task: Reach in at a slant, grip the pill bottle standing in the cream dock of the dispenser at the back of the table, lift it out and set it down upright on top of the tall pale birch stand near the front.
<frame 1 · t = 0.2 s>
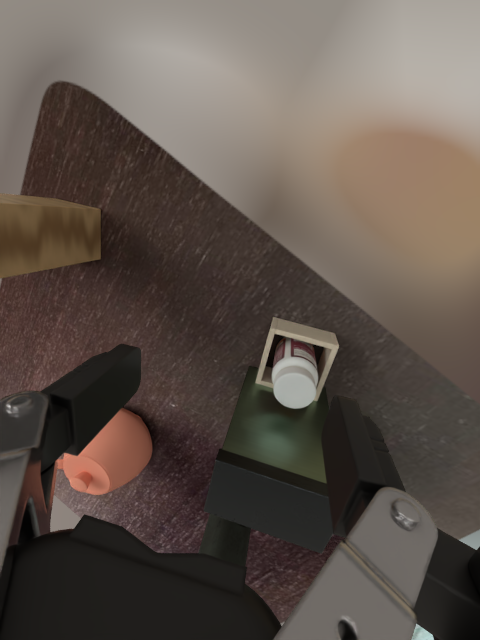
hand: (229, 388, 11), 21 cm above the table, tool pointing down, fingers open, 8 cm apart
sugar bowl: (120, 427, 44), on the table
pill bottle: (294, 350, 33), resting in dock
dispenser: (280, 394, 35), on the table
dock: (294, 351, 33), on the table
candle: (237, 484, 43), on the table
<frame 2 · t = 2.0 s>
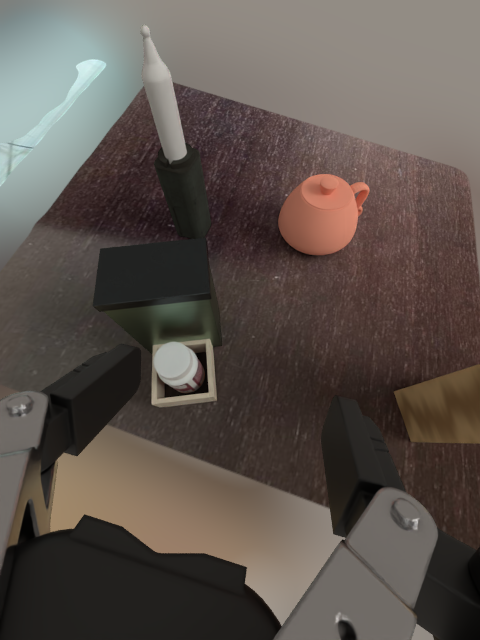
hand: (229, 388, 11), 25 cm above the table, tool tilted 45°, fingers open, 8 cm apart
sugar bowl: (317, 233, 46), on the table
pill bottle: (188, 376, 36), resting in dock
dispenser: (186, 330, 39), on the table
dock: (187, 375, 36), on the table
candle: (194, 228, 47), on the table
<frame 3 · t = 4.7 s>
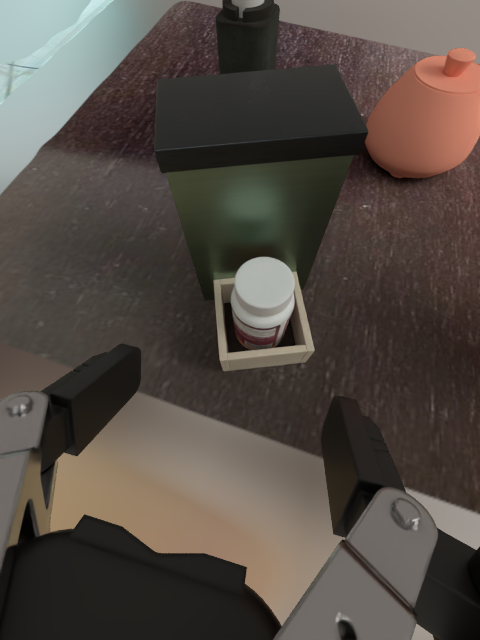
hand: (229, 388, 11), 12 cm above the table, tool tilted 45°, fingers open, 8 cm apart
sugar bowl: (409, 157, 35), on the table
pill bottle: (258, 329, 25), resting in dock
dispenser: (250, 270, 28), on the table
dock: (259, 328, 25), on the table
candle: (247, 152, 36), on the table
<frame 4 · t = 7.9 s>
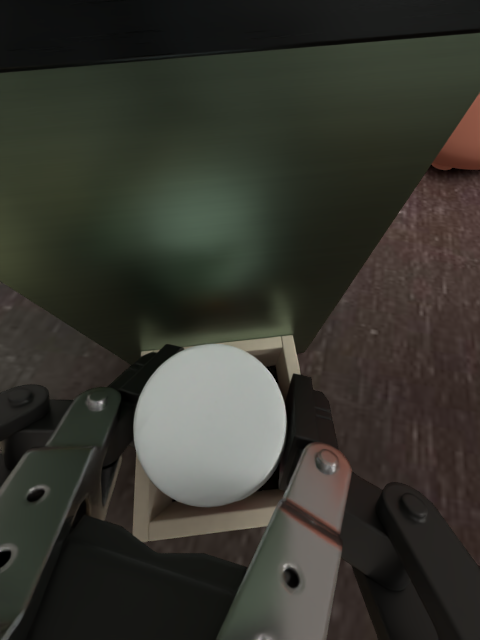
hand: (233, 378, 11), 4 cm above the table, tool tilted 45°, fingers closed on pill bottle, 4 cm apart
sugar bowl: (456, 140, 24), on the table
pill bottle: (228, 427, 15), resting in dock, touching gripper
dispenser: (219, 317, 17), on the table
dock: (228, 427, 14), on the table
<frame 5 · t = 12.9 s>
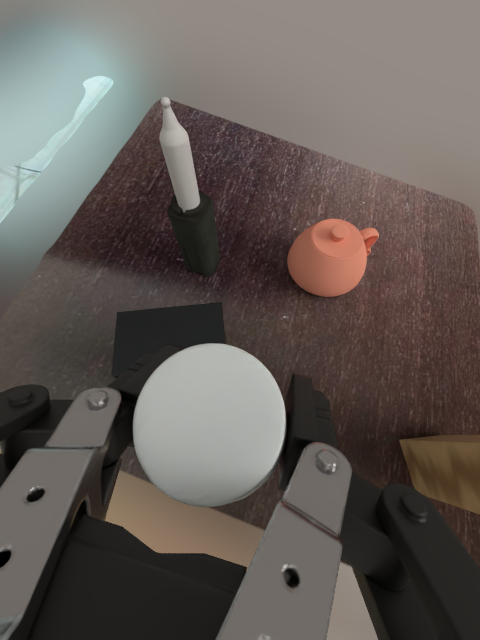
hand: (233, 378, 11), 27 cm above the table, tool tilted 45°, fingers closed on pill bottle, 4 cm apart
sugar bowl: (325, 271, 46), on the table
pill bottle: (228, 427, 15), point 23 cm above the table, touching gripper
dispenser: (195, 371, 39), on the table
candle: (203, 263, 47), on the table
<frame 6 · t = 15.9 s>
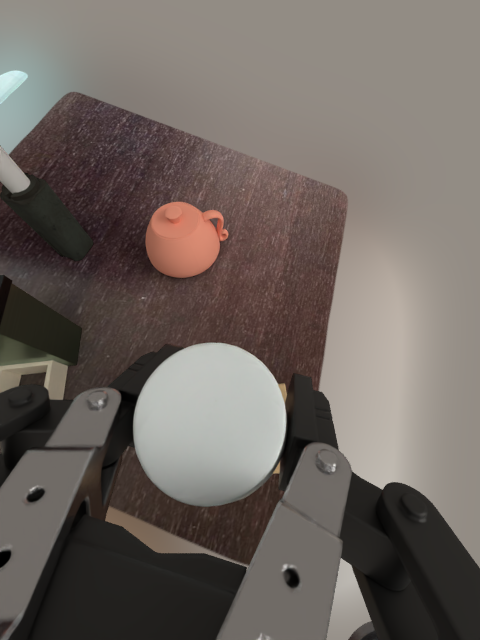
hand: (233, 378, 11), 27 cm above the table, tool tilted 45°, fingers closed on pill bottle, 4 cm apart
sugar bowl: (191, 254, 48), on the table
pill bottle: (228, 427, 15), point 23 cm above the table, touching gripper
dispenser: (46, 349, 41), on the table
dock: (38, 393, 38), on the table
candle: (77, 248, 49), on the table
when the fingers open (22 cm above the table, at t = 18.2 s): pill bottle stays where it is, resting on stand.
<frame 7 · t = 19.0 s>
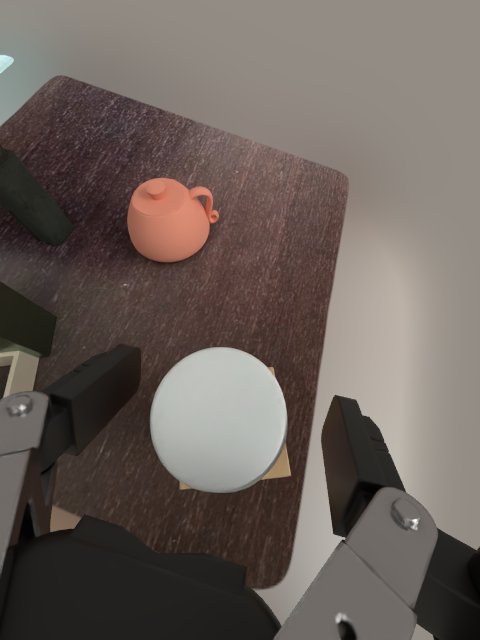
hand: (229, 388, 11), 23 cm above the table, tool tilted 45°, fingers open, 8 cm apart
sugar bowl: (179, 239, 44), on the table
pill bottle: (231, 424, 15), point 18 cm above the table, touching stand
stand: (230, 423, 15), on the table
dispenser: (17, 340, 37), on the table
dock: (5, 388, 34), on the table
candle: (56, 232, 45), on the table
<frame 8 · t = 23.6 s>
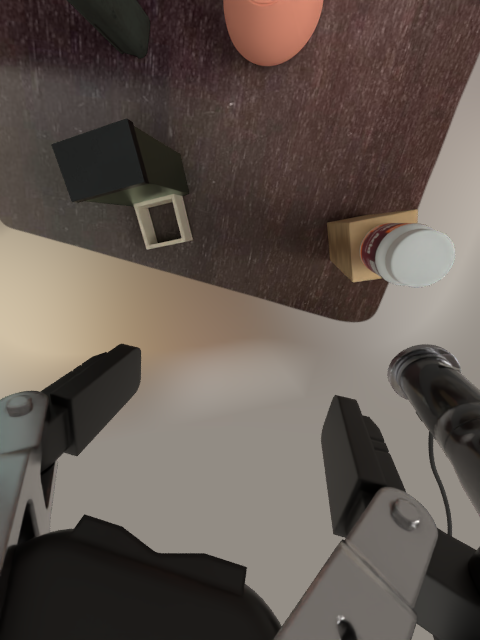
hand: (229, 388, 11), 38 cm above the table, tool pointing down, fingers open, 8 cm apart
sugar bowl: (280, 14, 35), on the table
pill bottle: (383, 248, 26), point 18 cm above the table, touching stand
stand: (383, 248, 26), on the table
dispenser: (158, 181, 45), on the table
dock: (168, 222, 47), on the table
candle: (133, 35, 39), on the table
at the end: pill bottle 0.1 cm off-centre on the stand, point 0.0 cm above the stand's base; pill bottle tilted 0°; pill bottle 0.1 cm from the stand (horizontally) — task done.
